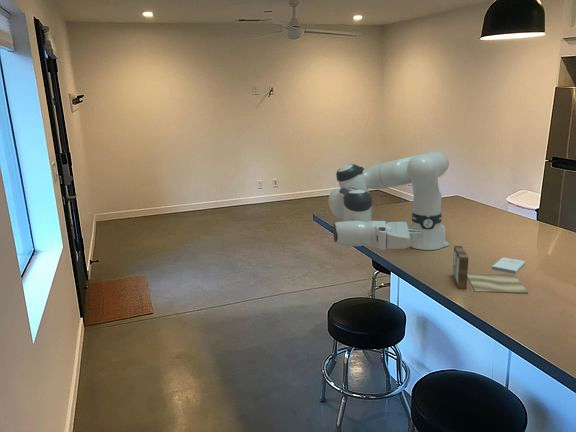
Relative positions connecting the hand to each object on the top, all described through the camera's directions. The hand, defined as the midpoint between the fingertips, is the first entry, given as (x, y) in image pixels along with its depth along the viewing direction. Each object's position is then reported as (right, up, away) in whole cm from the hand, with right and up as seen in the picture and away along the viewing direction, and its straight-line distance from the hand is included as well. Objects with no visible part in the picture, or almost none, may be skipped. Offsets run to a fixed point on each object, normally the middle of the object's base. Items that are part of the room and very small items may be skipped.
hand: (422, 234), depth 157 cm
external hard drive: (+36, -13, +15) cm, 41 cm away
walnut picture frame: (+13, -16, +3) cm, 21 cm away
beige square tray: (+25, -16, +1) cm, 29 cm away
